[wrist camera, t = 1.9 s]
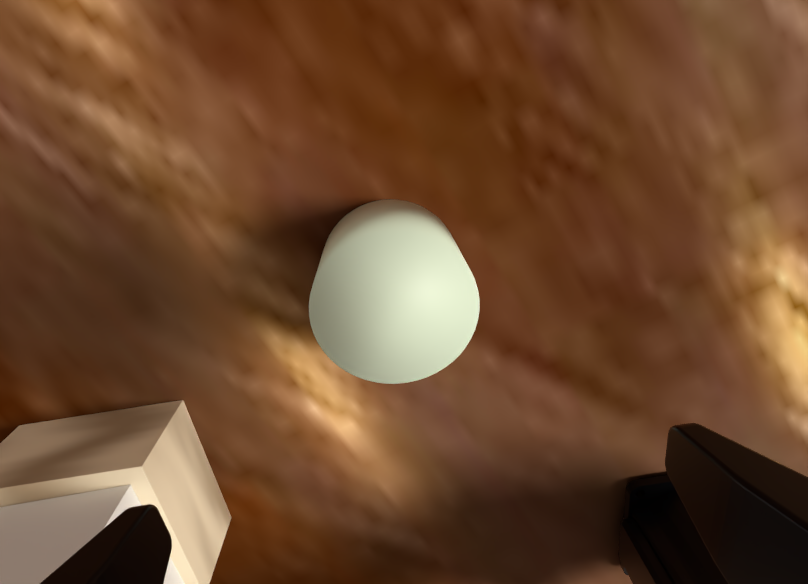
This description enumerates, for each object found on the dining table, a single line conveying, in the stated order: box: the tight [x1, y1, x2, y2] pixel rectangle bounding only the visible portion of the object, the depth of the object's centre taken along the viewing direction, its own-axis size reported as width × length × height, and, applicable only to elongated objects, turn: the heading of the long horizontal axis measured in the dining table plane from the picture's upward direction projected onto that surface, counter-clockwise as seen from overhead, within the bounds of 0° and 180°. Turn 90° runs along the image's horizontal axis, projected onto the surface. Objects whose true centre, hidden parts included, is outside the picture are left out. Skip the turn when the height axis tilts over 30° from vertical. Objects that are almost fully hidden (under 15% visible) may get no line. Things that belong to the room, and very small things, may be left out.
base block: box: [0, 400, 231, 584], centre depth 19 cm, size 7×7×4 cm
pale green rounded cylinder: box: [309, 199, 479, 384], centre depth 16 cm, size 5×5×4 cm
